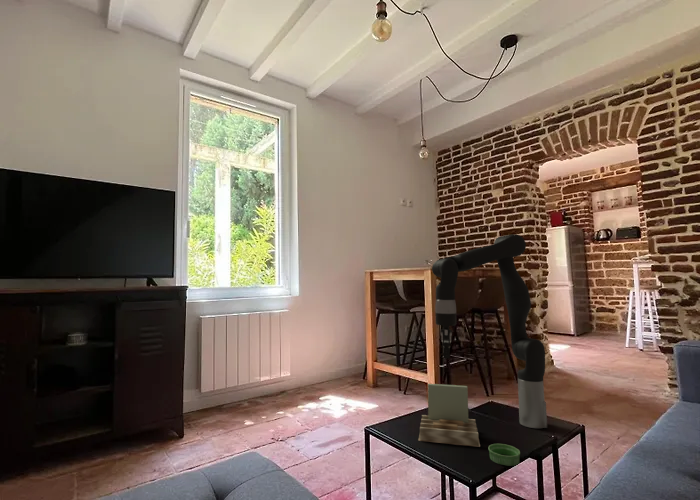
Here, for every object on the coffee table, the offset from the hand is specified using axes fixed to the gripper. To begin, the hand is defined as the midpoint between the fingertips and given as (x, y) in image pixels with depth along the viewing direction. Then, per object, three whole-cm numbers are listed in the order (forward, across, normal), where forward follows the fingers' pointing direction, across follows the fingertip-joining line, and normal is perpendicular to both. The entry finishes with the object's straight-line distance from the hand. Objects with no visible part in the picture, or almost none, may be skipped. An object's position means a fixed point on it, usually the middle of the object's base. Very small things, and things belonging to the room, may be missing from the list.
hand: (446, 356), depth 138 cm
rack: (+28, -4, 0) cm, 28 cm away
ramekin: (+28, -19, -16) cm, 38 cm away
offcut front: (+26, -8, +1) cm, 28 cm away
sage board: (+26, 0, 0) cm, 26 cm away
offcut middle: (+26, -4, -1) cm, 27 cm away
